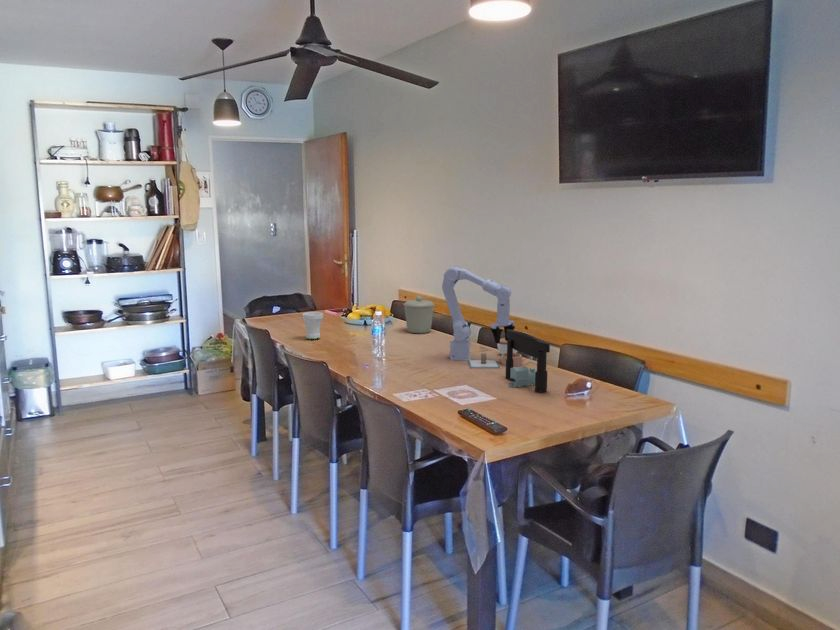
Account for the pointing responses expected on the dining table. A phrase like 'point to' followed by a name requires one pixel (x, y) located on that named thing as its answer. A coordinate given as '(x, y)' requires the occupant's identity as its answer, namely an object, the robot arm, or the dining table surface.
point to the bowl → (516, 358)
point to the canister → (419, 315)
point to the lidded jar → (503, 346)
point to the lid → (483, 362)
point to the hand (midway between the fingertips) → (502, 341)
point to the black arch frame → (531, 348)
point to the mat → (480, 368)
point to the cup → (312, 324)
